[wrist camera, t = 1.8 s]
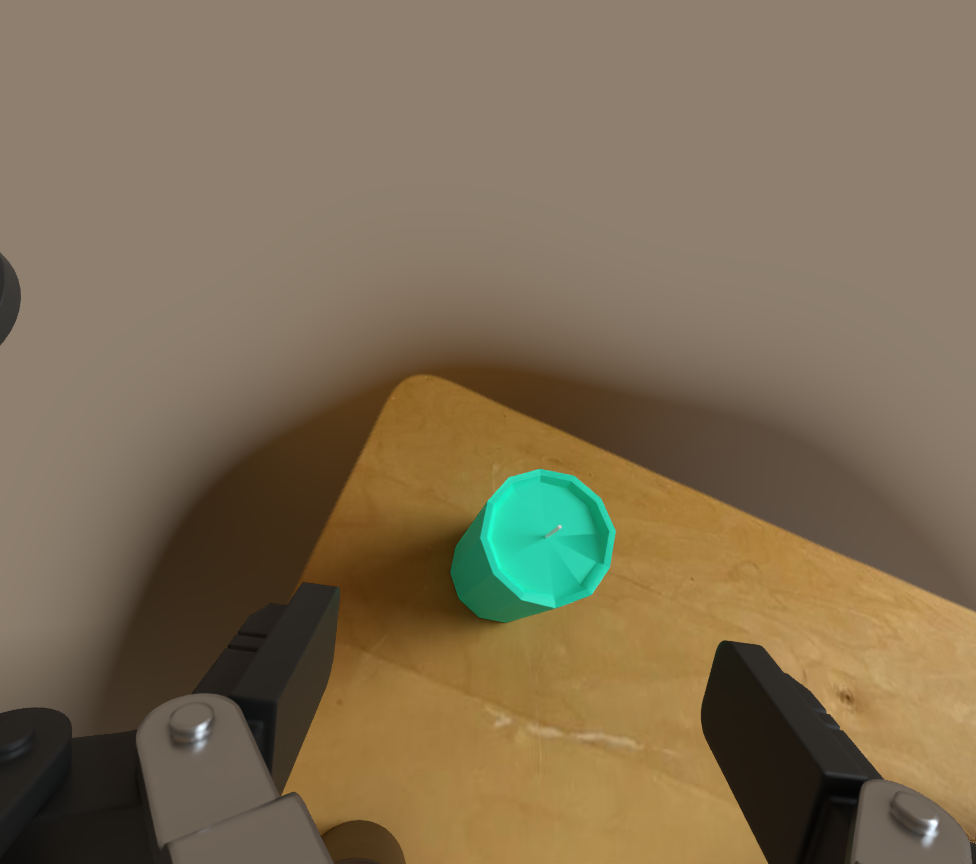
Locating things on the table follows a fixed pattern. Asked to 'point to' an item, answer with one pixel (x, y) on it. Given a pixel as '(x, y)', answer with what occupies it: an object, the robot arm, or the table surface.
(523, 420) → the table surface
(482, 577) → the candle
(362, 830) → the walnut post
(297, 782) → the table surface
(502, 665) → the table surface
